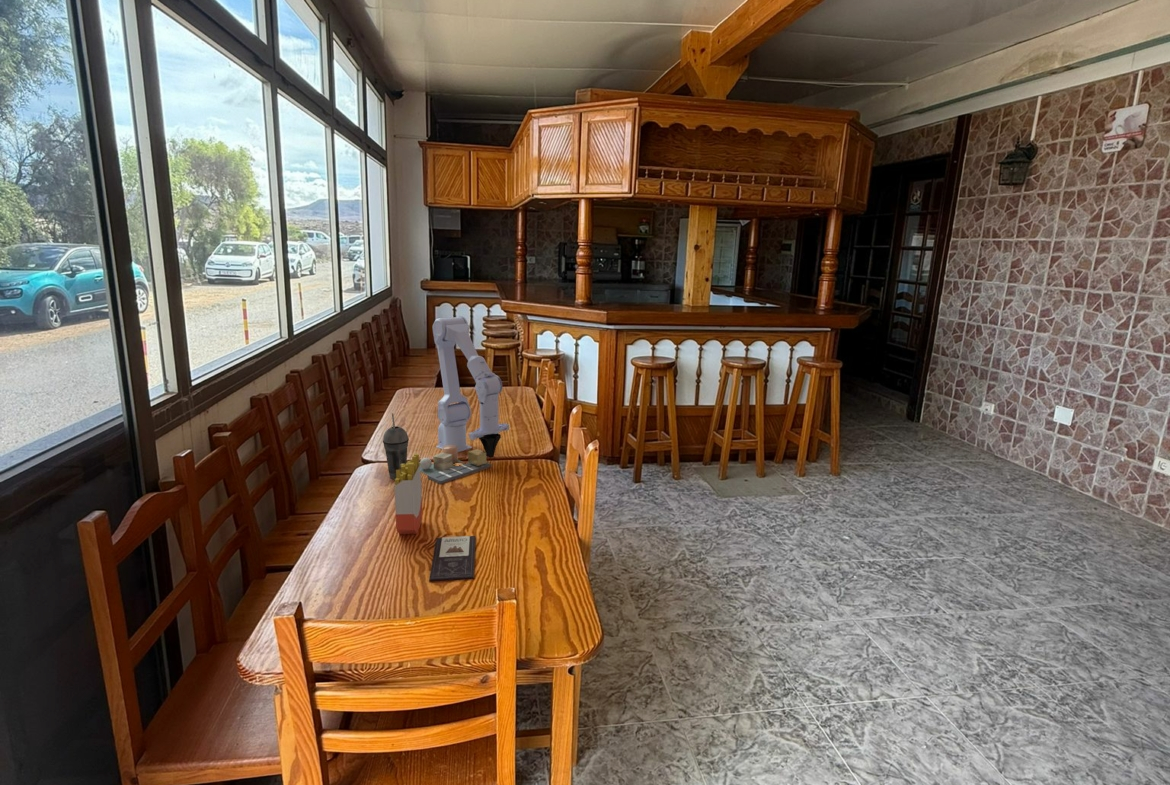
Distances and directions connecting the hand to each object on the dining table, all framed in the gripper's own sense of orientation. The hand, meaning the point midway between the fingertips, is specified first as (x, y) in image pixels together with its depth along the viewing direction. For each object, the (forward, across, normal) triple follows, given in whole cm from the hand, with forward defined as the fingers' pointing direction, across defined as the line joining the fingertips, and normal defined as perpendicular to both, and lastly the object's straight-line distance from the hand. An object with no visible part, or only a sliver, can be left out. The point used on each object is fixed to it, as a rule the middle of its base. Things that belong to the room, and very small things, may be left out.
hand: (489, 456), depth 189 cm
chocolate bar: (+3, -43, -39) cm, 58 cm away
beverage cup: (+3, -26, +10) cm, 28 cm away
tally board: (+2, -12, 0) cm, 12 cm away
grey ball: (+2, -17, +10) cm, 20 cm away
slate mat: (+2, -12, +8) cm, 15 cm away
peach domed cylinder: (+2, -8, +9) cm, 13 cm away
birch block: (+2, -13, +7) cm, 15 cm away
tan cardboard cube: (+1, -5, 0) cm, 5 cm away
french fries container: (+3, -42, -20) cm, 47 cm away
